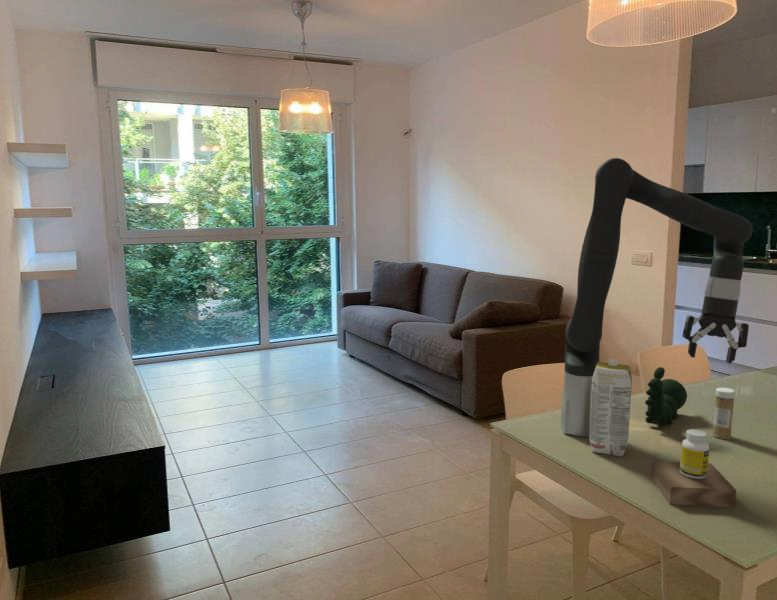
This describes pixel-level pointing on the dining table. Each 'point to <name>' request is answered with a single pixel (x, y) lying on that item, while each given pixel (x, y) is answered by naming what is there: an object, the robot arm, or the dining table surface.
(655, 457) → the dining table surface
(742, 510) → the dining table surface
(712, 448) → the dining table surface
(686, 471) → the supplement bottle
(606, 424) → the juice carton
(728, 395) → the sprinkles bottle
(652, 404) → the toy figurine
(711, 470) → the walnut plinth
